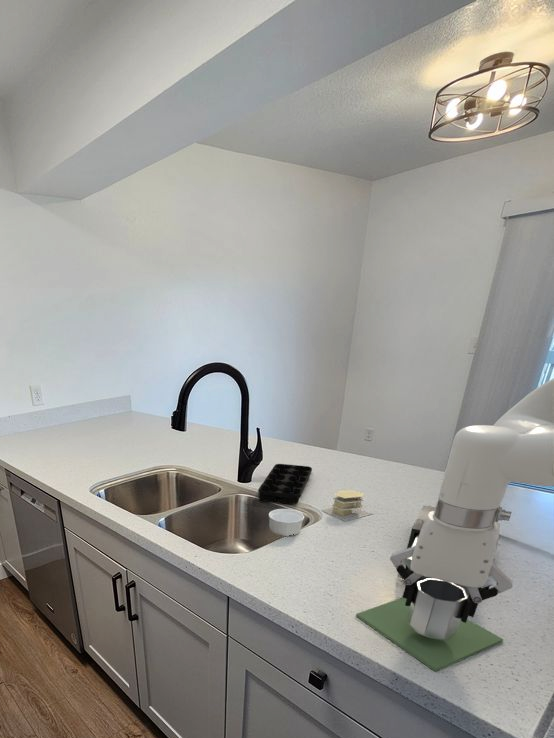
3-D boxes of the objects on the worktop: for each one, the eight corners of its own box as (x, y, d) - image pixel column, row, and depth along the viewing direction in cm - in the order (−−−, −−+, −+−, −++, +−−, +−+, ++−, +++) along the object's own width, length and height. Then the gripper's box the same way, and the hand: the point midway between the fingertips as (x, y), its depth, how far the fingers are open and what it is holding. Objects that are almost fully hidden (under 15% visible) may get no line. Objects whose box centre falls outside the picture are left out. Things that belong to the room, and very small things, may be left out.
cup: (464, 632, 72) (477, 595, 69) (434, 644, 70) (446, 606, 66) (426, 610, 78) (436, 575, 74) (398, 621, 75) (407, 585, 72)
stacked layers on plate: (345, 521, 118) (348, 502, 115) (321, 510, 125) (323, 492, 122) (372, 513, 121) (375, 495, 118) (347, 503, 128) (350, 486, 126)
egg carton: (310, 474, 153) (311, 463, 151) (318, 506, 127) (320, 494, 126) (258, 473, 157) (259, 463, 156) (257, 504, 131) (258, 492, 130)
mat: (502, 642, 73) (503, 639, 73) (435, 671, 68) (436, 669, 68) (417, 594, 86) (418, 591, 86) (355, 616, 81) (356, 613, 81)
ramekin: (292, 521, 120) (294, 506, 118) (308, 535, 112) (310, 519, 110) (262, 525, 118) (263, 510, 116) (276, 539, 111) (277, 524, 109)
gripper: (540, 515, 62) (501, 616, 70) (404, 493, 72) (383, 584, 80) (542, 535, 57) (499, 641, 65) (394, 509, 66) (373, 604, 74)
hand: (435, 609), depth 72 cm, fingers closed on cup, 7 cm apart
